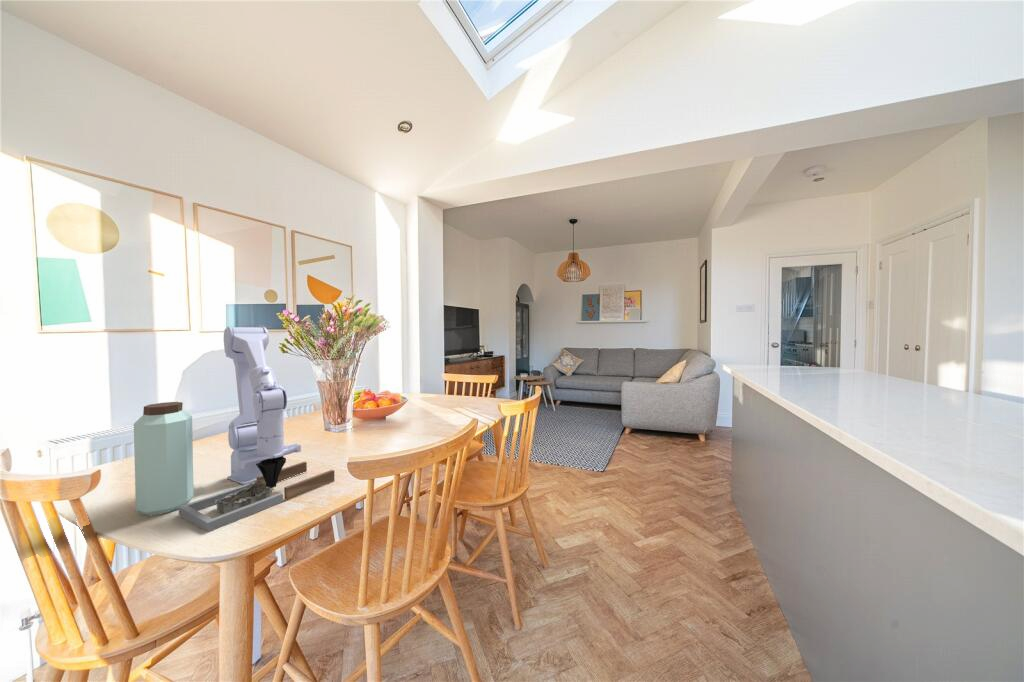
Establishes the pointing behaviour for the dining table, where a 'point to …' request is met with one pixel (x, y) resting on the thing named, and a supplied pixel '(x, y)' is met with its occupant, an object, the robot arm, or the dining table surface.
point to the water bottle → (163, 458)
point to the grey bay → (209, 524)
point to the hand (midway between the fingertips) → (271, 486)
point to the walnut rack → (302, 485)
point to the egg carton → (244, 497)
